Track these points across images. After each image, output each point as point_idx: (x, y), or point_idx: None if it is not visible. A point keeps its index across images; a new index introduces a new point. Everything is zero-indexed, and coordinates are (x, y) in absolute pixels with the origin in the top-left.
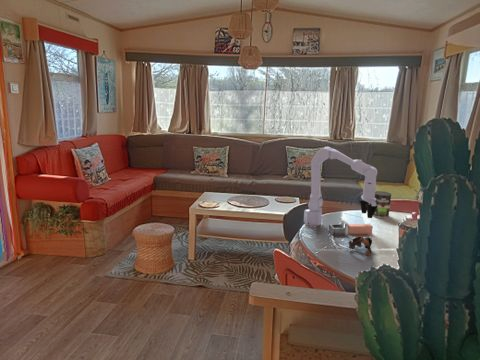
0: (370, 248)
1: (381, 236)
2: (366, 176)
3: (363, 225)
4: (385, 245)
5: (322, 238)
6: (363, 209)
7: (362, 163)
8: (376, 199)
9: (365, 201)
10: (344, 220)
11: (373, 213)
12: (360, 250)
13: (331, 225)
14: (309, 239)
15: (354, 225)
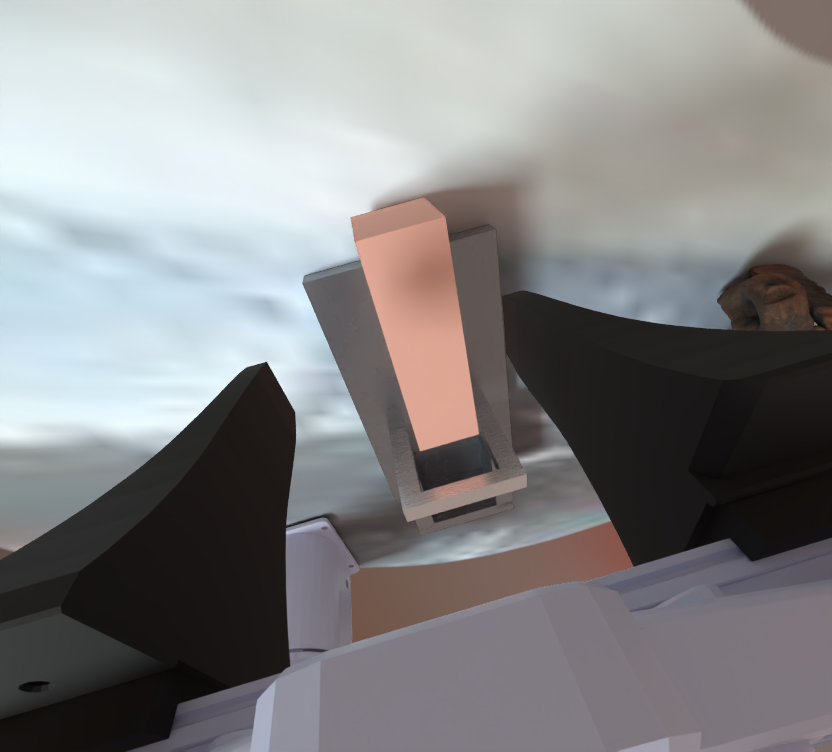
0: (800, 282)
1: (434, 66)
2: None
3: (433, 325)
4: (684, 93)
5: (515, 494)
6: (277, 454)
7: None
8: (651, 678)
9: (213, 638)
10: (444, 501)
11: (591, 314)
12: (709, 325)
13: (450, 521)
14: (529, 529)
15: (448, 403)
